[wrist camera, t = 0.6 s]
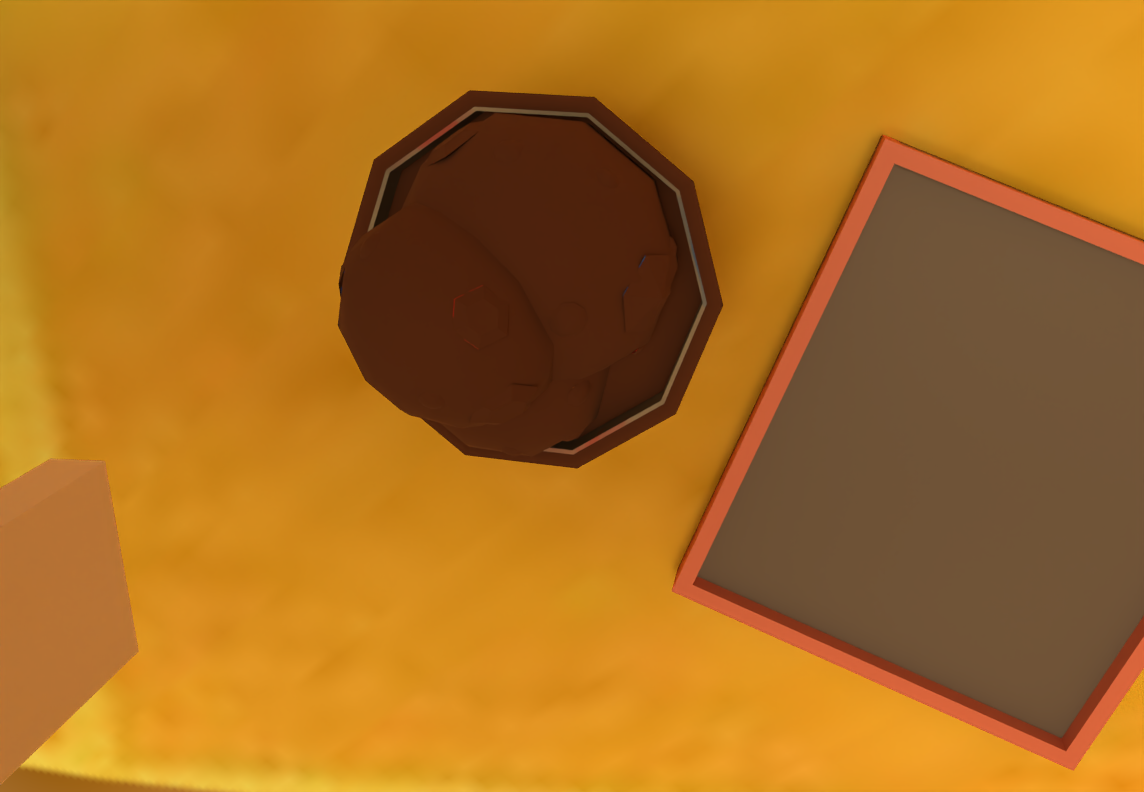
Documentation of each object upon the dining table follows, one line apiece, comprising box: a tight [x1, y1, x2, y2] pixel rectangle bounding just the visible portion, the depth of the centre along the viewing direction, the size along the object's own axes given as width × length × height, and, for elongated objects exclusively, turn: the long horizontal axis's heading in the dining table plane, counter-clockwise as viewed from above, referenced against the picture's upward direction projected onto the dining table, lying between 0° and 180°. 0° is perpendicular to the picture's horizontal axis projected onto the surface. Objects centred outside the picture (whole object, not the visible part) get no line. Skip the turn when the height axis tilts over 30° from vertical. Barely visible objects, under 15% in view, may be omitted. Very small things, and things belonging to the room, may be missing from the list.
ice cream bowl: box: [338, 90, 723, 468], centre depth 33 cm, size 11×11×15 cm
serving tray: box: [672, 134, 1144, 770], centre depth 38 cm, size 16×18×2 cm
